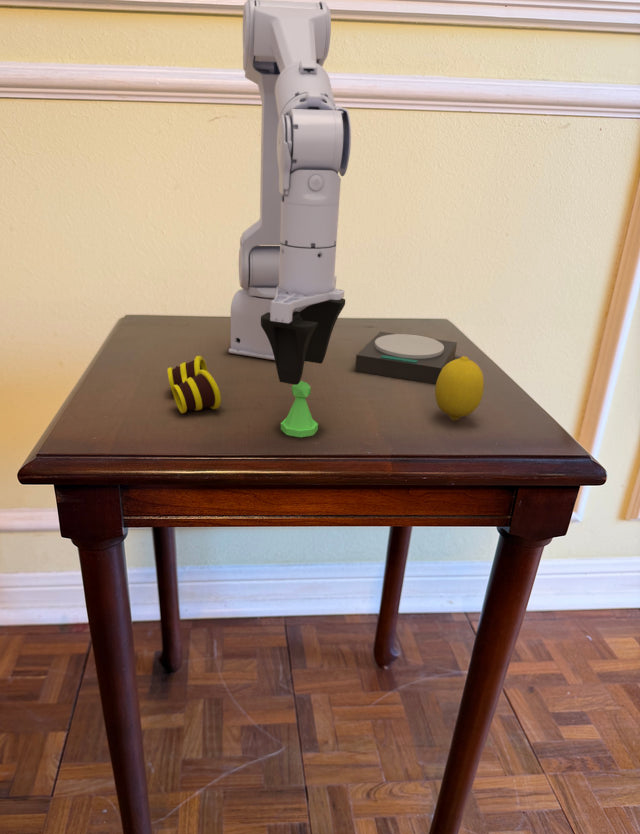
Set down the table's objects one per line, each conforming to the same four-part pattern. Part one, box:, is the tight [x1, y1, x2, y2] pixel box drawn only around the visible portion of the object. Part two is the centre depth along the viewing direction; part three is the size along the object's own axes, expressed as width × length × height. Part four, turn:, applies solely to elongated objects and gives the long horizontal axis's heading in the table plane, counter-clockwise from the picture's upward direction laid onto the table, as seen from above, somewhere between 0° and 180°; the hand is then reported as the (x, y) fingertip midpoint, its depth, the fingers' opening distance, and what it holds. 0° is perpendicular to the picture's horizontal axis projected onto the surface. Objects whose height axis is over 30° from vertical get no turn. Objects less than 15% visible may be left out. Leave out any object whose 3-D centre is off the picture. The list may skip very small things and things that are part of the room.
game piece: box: [280, 380, 319, 438], centre depth 78 cm, size 4×4×6 cm
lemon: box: [434, 355, 485, 421], centre depth 81 cm, size 6×6×8 cm
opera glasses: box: [167, 355, 222, 414], centre depth 84 cm, size 10×5×5 cm, turn 15°
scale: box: [354, 331, 458, 385], centre depth 100 cm, size 12×13×3 cm
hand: (302, 371), depth 76 cm, fingers open, 7 cm apart
